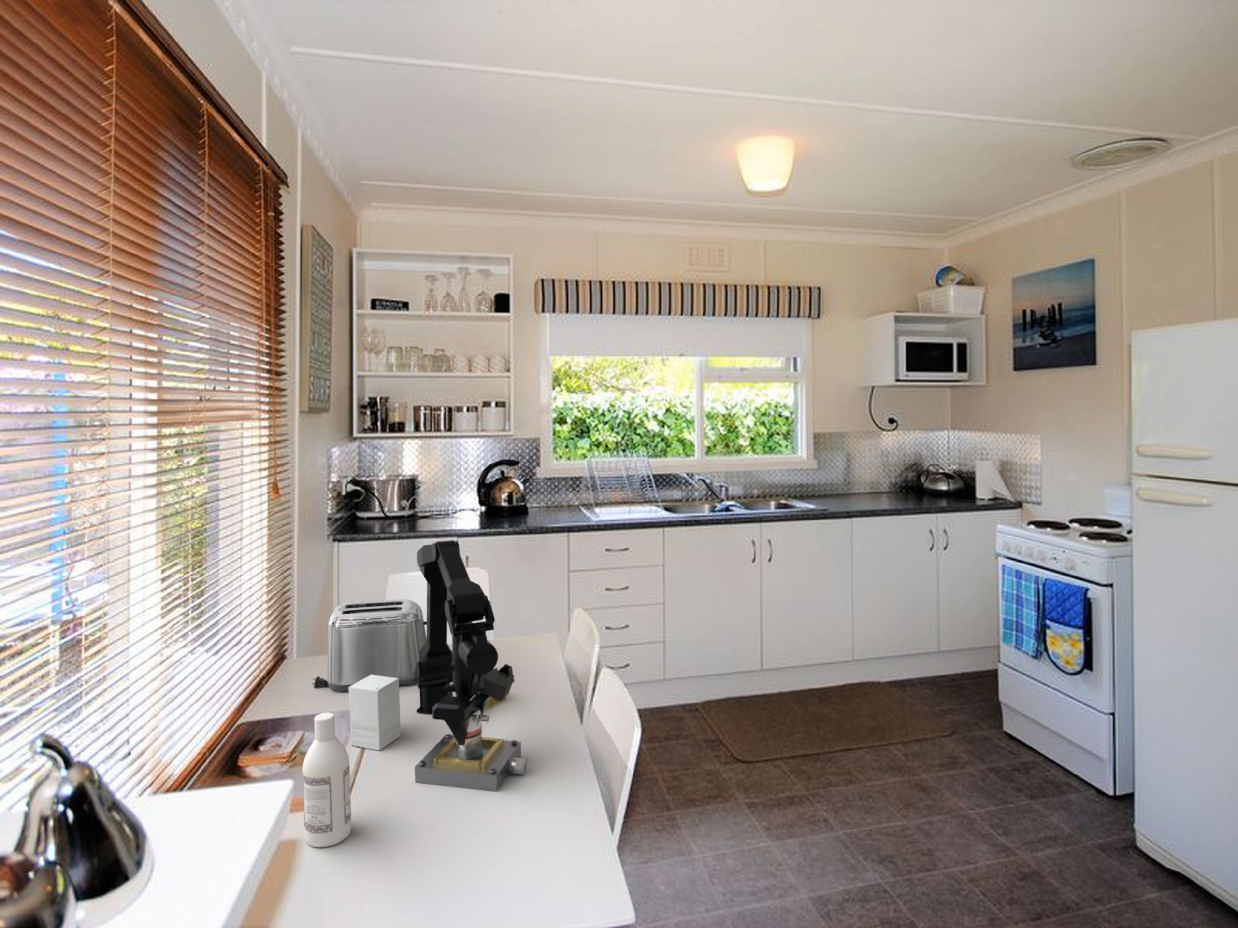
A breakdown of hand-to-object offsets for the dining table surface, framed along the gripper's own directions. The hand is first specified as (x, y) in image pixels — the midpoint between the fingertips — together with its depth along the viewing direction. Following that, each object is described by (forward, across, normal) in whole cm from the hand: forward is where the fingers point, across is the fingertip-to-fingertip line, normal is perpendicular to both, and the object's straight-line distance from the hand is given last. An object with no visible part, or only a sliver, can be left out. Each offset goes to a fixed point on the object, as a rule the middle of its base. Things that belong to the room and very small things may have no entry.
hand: (469, 736), depth 131 cm
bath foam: (+7, -24, +14) cm, 29 cm away
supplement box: (+7, +7, +24) cm, 26 cm away
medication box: (+7, +27, +8) cm, 29 cm away
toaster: (+7, +37, +42) cm, 57 cm away
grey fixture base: (+6, 0, -2) cm, 7 cm away
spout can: (+3, 0, 0) cm, 3 cm away
